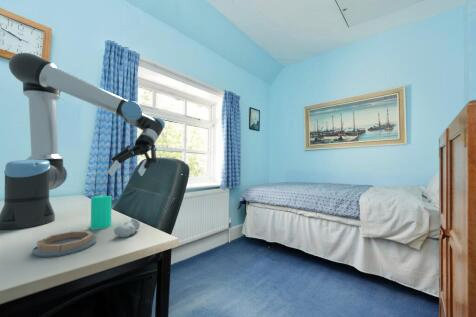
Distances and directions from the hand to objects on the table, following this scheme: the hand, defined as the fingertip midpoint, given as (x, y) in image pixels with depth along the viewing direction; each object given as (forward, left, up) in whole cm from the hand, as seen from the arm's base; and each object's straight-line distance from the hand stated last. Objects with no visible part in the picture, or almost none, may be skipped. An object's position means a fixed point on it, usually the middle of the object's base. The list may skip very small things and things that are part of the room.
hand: (124, 173), depth 84 cm
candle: (+5, -10, -18) cm, 21 cm away
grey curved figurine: (+21, -7, -18) cm, 29 cm away
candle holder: (+18, -22, -18) cm, 33 cm away
